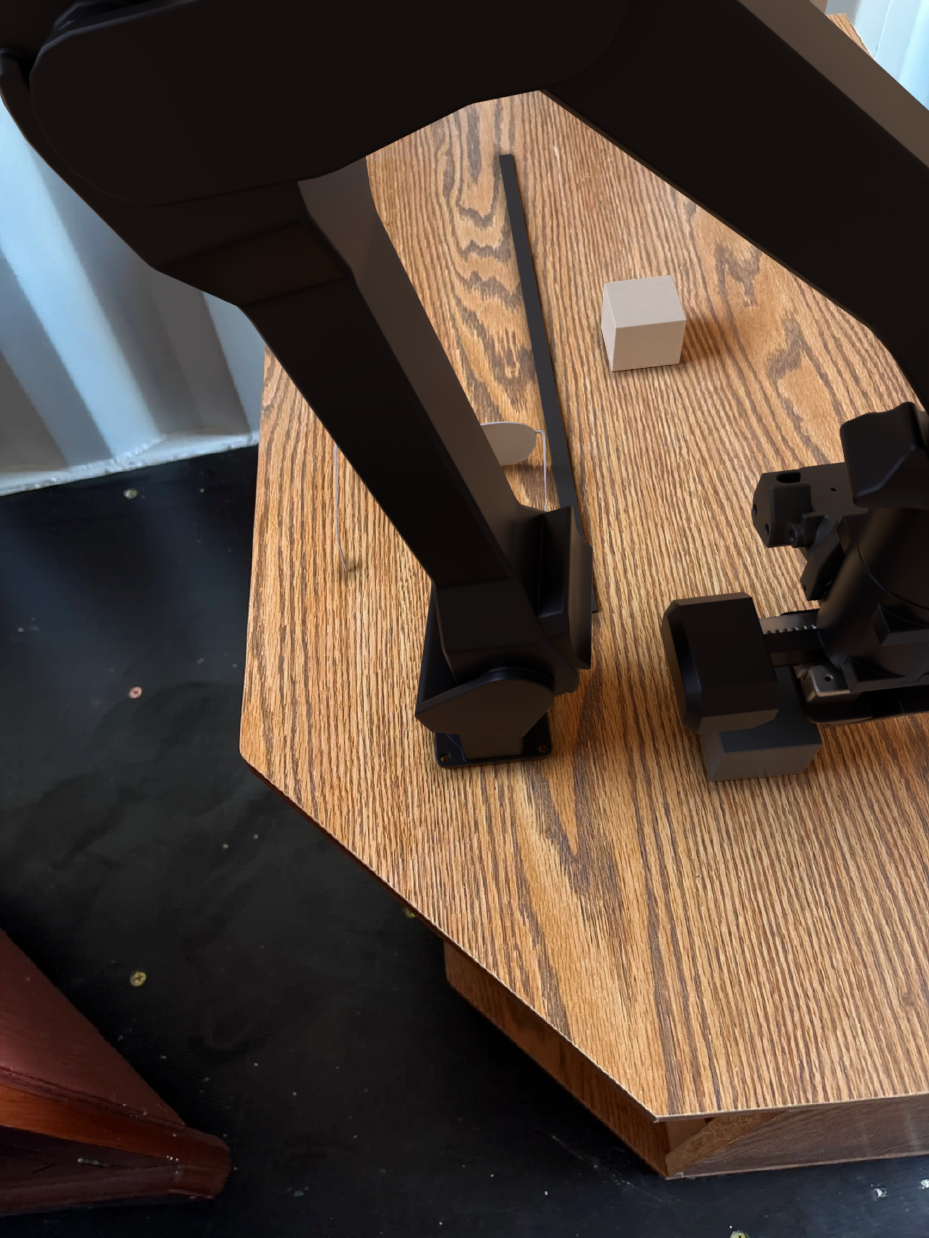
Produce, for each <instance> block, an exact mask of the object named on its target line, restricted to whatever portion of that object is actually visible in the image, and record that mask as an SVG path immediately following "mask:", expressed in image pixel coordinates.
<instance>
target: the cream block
mask: <svg viewBox="0 0 929 1238" xmlns="http://www.w3.org/2000/svg"><path fill="white" fill-rule="evenodd" d="M602 291H603V294H602V305H601V306H602V310H601V319H600V321H601V323H600V328H601V331H602V332H601V333H602V337H603V340H604V345H605V349H606V353H607V357H608V362H609V365H610V369H611V372H621V371H629V370H636V369H637V370H638V369H645V368H654V367H664V366H671V365H679V364H680V361H681V355H682V350H683V344H684V339H685V333H686V327H687V320H688V319H687V317H686V313H685V311H684V307H683V304H682V301H681V297H680V294H679V292H678V288H677V286H676V282H675V279H674V276H673V274H667V275H660V276H650V277H642V278H641V277H640V278H631V279H625V280H615V281H607V282H604V283H603V290H602Z"/></svg>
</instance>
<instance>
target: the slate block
mask: <svg viewBox="0 0 929 1238" xmlns="http://www.w3.org/2000/svg"><path fill="white" fill-rule="evenodd" d="M774 670H775V673H776V676H777V679H778V695H779V710H778V712H777V714H776V716H775V718H774V719H773V720H770V721H768V722H766V723H763V724H761V725H759V726H757V727H754V728H749V729H739V730H730V731H721V732H712V733H703V734H698V735H699V739H700V743H701V748H702V752H703V756H704V759H705V763H706V768H707V773H708V777H709V782H711V783H716V782H717V783H718V782H726V781H736V780H737V781H738V780H748V779H758V778H768V777H779V776H789V775H800V774H804V773H805V771H806V770H807V769H808V766H810V764H811V762H812V761H813V759H814V758H815V757H816V755H817V754H818V752H819V751H820V749H821V748H822V747H823V746H824V742H823V739H822V736H821V733H820V730H819V726H818V724H814V723H811V722H809V721H808V720H807V719H806V718H805V717H804V716H803V713H802V710H801V707H800V704H799V701H798V698H797V695H796V691H795V688H794V685H793V682H792V679H791V676H790V672H789V669H788V667H784V668H776V669H774Z"/></svg>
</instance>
